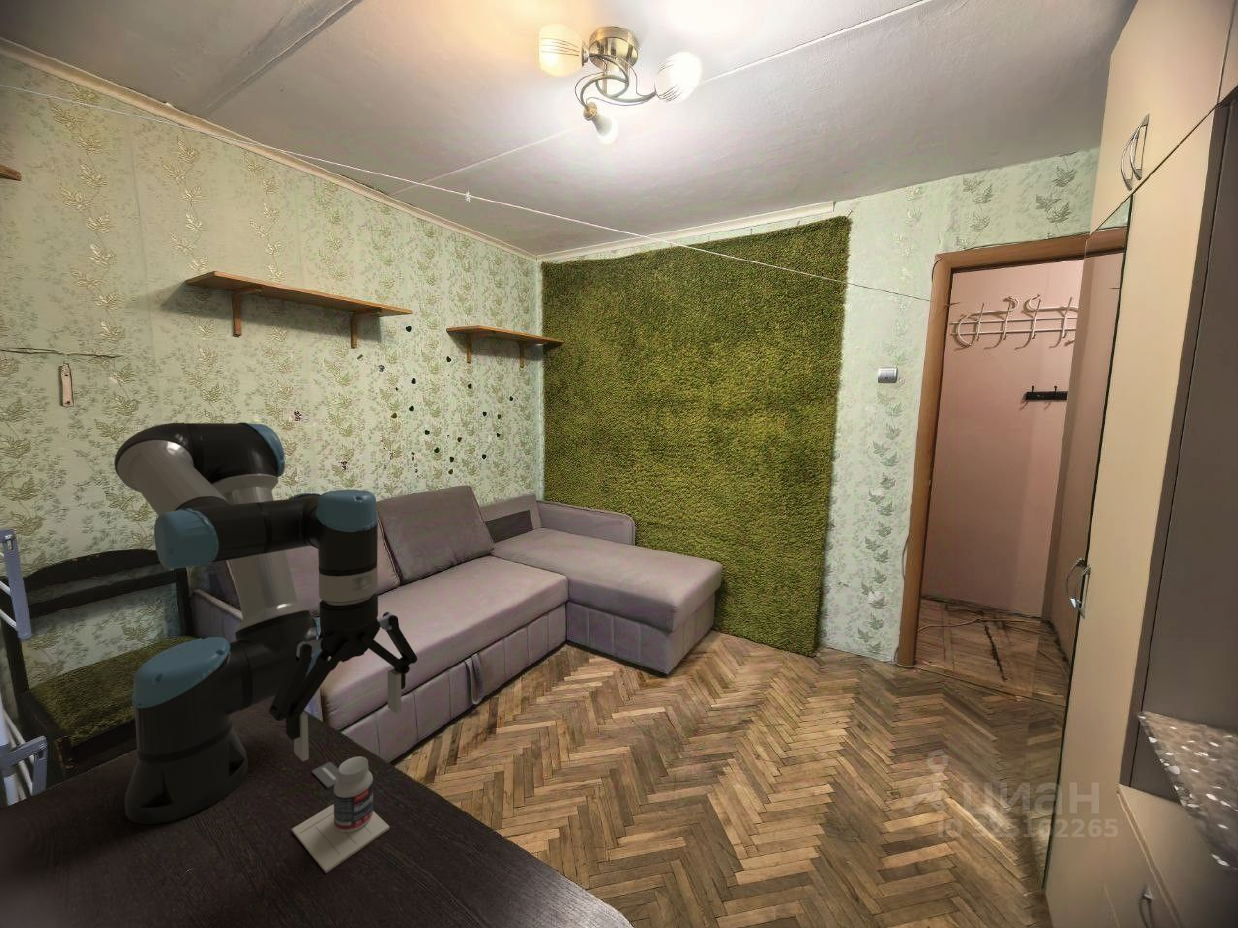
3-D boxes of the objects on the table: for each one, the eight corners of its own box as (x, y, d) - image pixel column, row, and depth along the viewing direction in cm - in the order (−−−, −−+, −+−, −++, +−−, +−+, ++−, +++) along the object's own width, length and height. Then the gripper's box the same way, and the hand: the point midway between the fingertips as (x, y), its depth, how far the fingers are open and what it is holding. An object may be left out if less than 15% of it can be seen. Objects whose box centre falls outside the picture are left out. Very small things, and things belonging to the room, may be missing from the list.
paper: (291, 831, 73) (291, 828, 72) (353, 794, 80) (353, 791, 80) (326, 872, 66) (325, 870, 66) (389, 828, 74) (389, 826, 73)
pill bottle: (356, 836, 71) (355, 781, 71) (326, 830, 72) (324, 774, 72) (380, 808, 77) (380, 756, 76) (352, 802, 78) (350, 750, 77)
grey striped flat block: (311, 772, 84) (311, 770, 84) (330, 762, 87) (330, 760, 87) (328, 788, 81) (327, 786, 81) (346, 778, 83) (346, 776, 83)
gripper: (258, 633, 59) (264, 793, 61) (439, 580, 79) (438, 702, 81) (236, 615, 63) (242, 766, 65) (413, 569, 83) (413, 686, 86)
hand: (351, 731), depth 73 cm, fingers open, 13 cm apart
